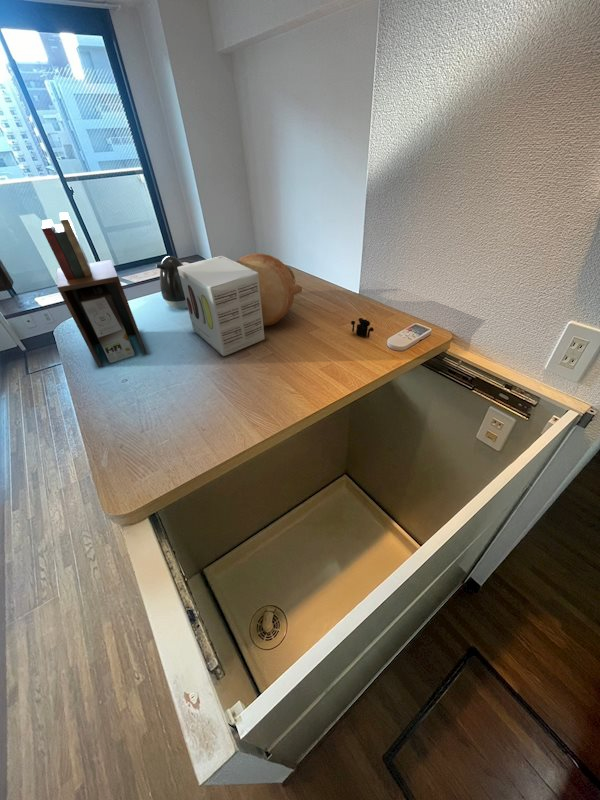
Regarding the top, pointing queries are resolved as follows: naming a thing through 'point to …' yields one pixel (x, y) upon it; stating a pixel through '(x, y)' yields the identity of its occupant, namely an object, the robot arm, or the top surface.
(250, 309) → the supplement box
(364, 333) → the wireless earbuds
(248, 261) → the jug
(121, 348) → the coffee box
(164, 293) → the pump dispenser
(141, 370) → the top surface
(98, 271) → the shelf
